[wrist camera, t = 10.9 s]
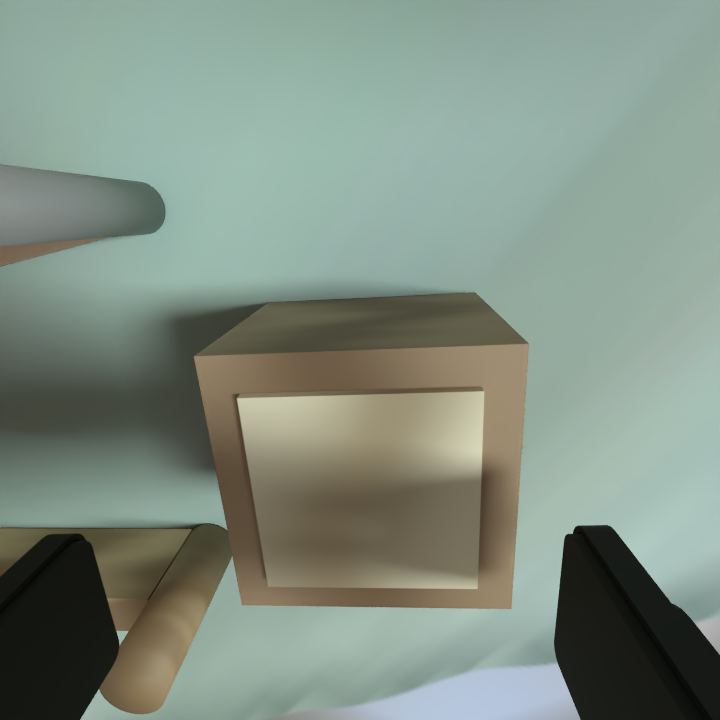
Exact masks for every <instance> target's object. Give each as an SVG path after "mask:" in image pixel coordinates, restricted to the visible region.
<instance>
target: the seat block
mask: <svg viewBox="0 0 720 720" xmlns="http://www.w3.org/2000/svg"><path fill="white" fill-rule="evenodd" d="M528 350H529V343H528V342H527V341H525V340H524V339H523V338H522V337H521V336H520V335H519V334H518V333H517V332H516V331H515V330H514V329H513V328H512V327H511V326H510V325H509V324H508V323H507V322H506V321H505V320H504V319H502V318H501V317H500V316H499V315H498V314H497V313H496V312H495V311H494V310H493V309H492V308H491V307H490V306H489V305H488V304H487V303H486V302H485V301H484V300H483V299H482V298H480V297H479V296H478V295H477V294H476V293H456V294H435V295H414V296H393V297H372V298H352V299H331V300H310V301H289V302H268V303H267V304H265V305H264V306H263V307H261V308H260V309H259V310H257V311H256V312H254V313H253V314H252V315H250V316H249V317H248V318H246V319H245V320H243V321H242V322H241V323H239V324H238V325H236V326H235V327H234V328H232V329H231V330H230V331H228V332H227V333H225V334H224V335H223V336H221V337H220V338H218V339H217V340H216V341H214V342H213V343H212V344H210V345H209V346H207V347H206V348H205V349H203V350H202V351H200V352H199V353H198V354H196V355H195V356H194V360H195V365H196V370H197V376H198V381H199V386H200V391H201V396H202V401H203V406H204V412H205V417H206V422H207V427H208V432H209V437H210V442H211V448H212V453H213V458H214V463H215V468H216V473H217V478H218V484H219V489H220V494H221V499H222V504H223V509H224V514H225V520H226V525H227V530H228V535H229V540H230V545H231V550H232V556H233V561H234V566H235V571H236V576H237V581H238V586H239V592H240V597H241V602H242V605H272V606H341V607H410V608H479V609H511V604H512V589H513V574H514V559H515V544H516V529H517V514H518V500H519V485H520V470H521V455H522V440H523V425H524V410H525V395H526V380H527V365H528Z"/></svg>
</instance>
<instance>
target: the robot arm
mask: <svg viewBox="0 0 720 720" xmlns="http://www.w3.org/2000/svg"><path fill="white" fill-rule="evenodd" d="M554 647H555V654H556V658H557V662H558V665H559V667H560V670H561V672H562V675H563V677H564V679H565V682H566V684H567V687H568V689H569V692H570V694H571V697H572V699H573V702H574V704H575V707H576V709H577V711H578V714H579V716H580V719H581V720H720V655H719V654H718V652H717V651H716V650H715V649H714V647H713V646H712V645H711V644H710V642H709V641H708V640H707V638H706V637H705V636H704V635H703V633H702V632H701V631H700V630H699V628H698V627H697V626H696V625H695V623H694V622H693V621H692V620H691V618H690V617H689V616H688V615H687V614H686V613H685V612H684V611H683V610H682V609H681V608H679V607H678V606H676V605H674V604H672V603H671V602H670V601H669V600H668V598H667V597H666V596H665V594H664V593H663V592H662V591H661V589H660V588H659V587H658V585H657V584H656V583H655V582H654V580H653V579H652V578H651V576H650V575H649V574H648V573H647V571H646V570H645V569H644V567H643V566H642V565H641V564H640V562H639V561H638V560H637V558H636V557H635V556H634V555H633V553H632V552H631V551H630V549H629V548H628V547H627V546H626V544H625V543H624V542H623V540H622V539H621V538H620V537H619V535H618V534H617V533H616V531H615V530H614V529H613V528H612V527H610V526H608V525H595V526H576V527H575V529H574V531H573V534H567V535H566V536H565V539H564V548H563V558H562V568H561V578H560V588H559V598H558V608H557V618H556V628H555V638H554ZM118 652H119V639H118V636H117V632H116V629H115V625H114V621H113V618H112V614H111V611H110V607H109V604H108V600H107V597H106V593H105V589H104V586H103V582H102V579H101V575H100V572H99V568H98V564H97V561H96V557H95V554H94V550H93V547H92V545H91V543H90V542H89V541H86V539H85V537H84V536H83V535H82V534H78V533H68V534H49V535H46V536H45V537H43V538H42V539H41V540H40V541H39V542H37V543H36V544H35V545H34V546H33V547H32V548H31V549H30V550H29V551H28V552H27V553H25V554H24V555H23V556H22V557H21V558H20V559H19V560H18V561H17V562H16V563H15V564H13V565H12V566H11V567H10V568H9V569H8V570H7V571H6V572H5V573H4V574H2V575H1V576H0V720H80V719H81V717H82V715H83V714H84V712H85V711H86V709H87V707H88V706H89V704H90V702H91V701H92V699H93V698H94V696H95V694H96V693H97V691H98V689H99V688H100V686H101V684H102V683H103V681H104V680H105V678H106V676H107V675H108V673H109V671H110V670H111V668H112V666H113V665H114V663H115V661H116V658H117V656H118Z"/></svg>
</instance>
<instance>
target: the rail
mask: <svg viewBox="0 0 720 720" xmlns="http://www.w3.org/2000/svg"><path fill="white" fill-rule="evenodd" d="M164 219H165V205H164V202H163V199H162V198H161V196H160V194H159V193H158V192H157V191H156V190H155V189H154V188H153V187H152V186H150V185H148V184H146V183H143V182H137V181H129V180H121V179H113V178H105V177H97V176H89V175H80V174H72V173H64V172H56V171H48V170H40V169H32V168H24V167H16V166H8V165H0V266H4V265H8V264H11V263H15V262H19V261H23V260H26V259H30V258H34V257H38V256H41V255H45V254H49V253H52V252H56V251H60V250H64V249H67V248H71V247H75V246H79V245H82V244H86V243H90V242H93V241H97V240H101V239H105V238H108V237H119V236H131V235H143V234H151V233H153V232H155V231H157V230H158V229H159V228H160V227H161V226H162V224H163V222H164Z"/></svg>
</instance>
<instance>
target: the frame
mask: <svg viewBox="0 0 720 720" xmlns="http://www.w3.org/2000/svg"><path fill="white" fill-rule="evenodd" d="M68 533H78V534H82V535H83V536H84V537H85V539H86V541H89V542H90V543H91V545H92V547H93V550H94V554H95V557H96V561H97V564H98V568H99V572H100V575H101V579H102V582H103V586H104V589H105V593H106V597H107V600H108V604H109V607H110V611H111V614H112V618H113V621H114V625H115V629H116V630H118V631H129V632H128V633H127V635H126V637H125V638H124V640H123V641H122V643H121V645H120V646H119V652H118V656H117V658H116V661H115V663H114V665H113V666H112V668H111V670H110V671H109V673H108V675H107V676H106V678H105V680H104V681H103V683H102V684H101V686H100V688H99V689H100V692H101V694H102V695H103V697H104V698H105V699H106V700H107V701H108V702H109V703H110V704H112V705H113V706H115V707H116V708H118V709H120V710H123V711H125V712H129V713H133V714H148V713H152V712H154V711H156V710H158V709H159V708H160V707H161V706H162V705H163V703H164V701H165V699H166V697H167V694H168V692H169V690H170V688H171V686H172V684H173V682H174V679H175V677H176V675H177V673H178V671H179V669H180V667H181V665H182V662H183V660H184V658H185V656H186V654H187V652H188V650H189V647H190V645H191V643H192V641H193V639H194V637H195V635H196V632H197V630H198V628H199V626H200V624H201V622H202V620H203V617H204V615H205V613H206V611H207V609H208V607H209V605H210V602H211V600H212V598H213V596H214V594H215V592H216V590H217V587H218V585H219V583H220V581H221V579H222V577H223V575H224V572H225V570H226V568H227V566H228V564H229V562H230V560H231V557H232V550H231V545H230V540H229V535H228V531H226V530H225V529H223V528H222V527H220V526H217V525H212V524H204V525H200V526H198V527H196V528H195V529H194V530H193V531H192V529H70V528H0V576H1V575H2V574H4V573H5V572H6V571H7V570H8V569H9V568H10V567H11V566H12V565H13V564H15V563H16V562H17V561H18V560H19V559H20V558H21V557H22V556H23V555H24V554H25V553H27V552H28V551H29V550H30V549H31V548H32V547H33V546H34V545H35V544H36V543H37V542H39V541H40V540H41V539H42V538H43V537H45V536H46V535H49V534H68Z"/></svg>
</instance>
